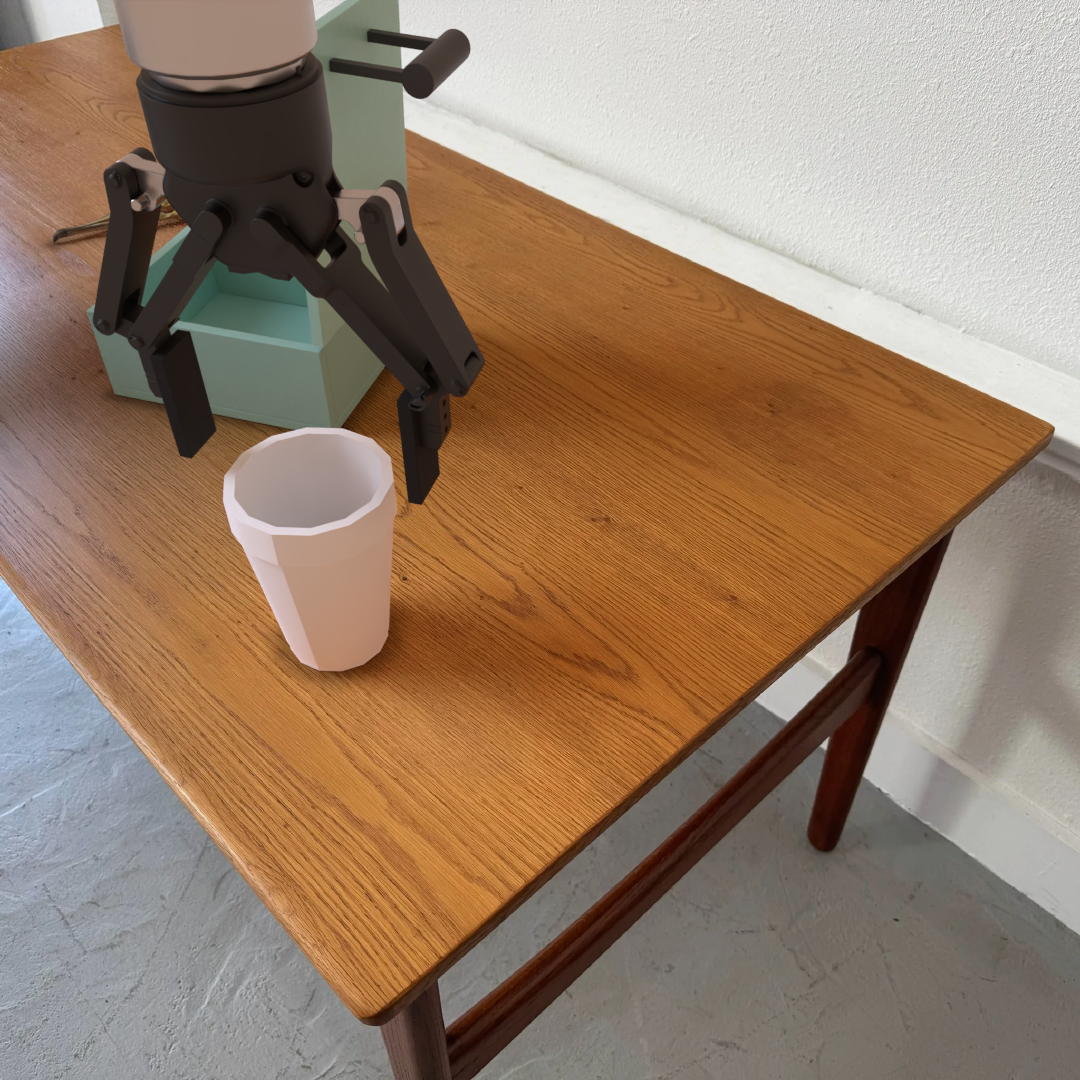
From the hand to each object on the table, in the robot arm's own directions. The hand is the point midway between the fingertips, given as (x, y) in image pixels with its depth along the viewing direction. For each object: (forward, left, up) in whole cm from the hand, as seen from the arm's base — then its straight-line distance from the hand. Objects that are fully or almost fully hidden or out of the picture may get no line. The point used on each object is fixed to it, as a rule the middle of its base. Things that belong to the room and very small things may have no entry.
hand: (308, 465), depth 56 cm
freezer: (-19, +27, -14) cm, 36 cm away
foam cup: (0, 0, -14) cm, 14 cm away
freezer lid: (-9, +27, +5) cm, 29 cm away
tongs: (-45, +44, -14) cm, 65 cm away
